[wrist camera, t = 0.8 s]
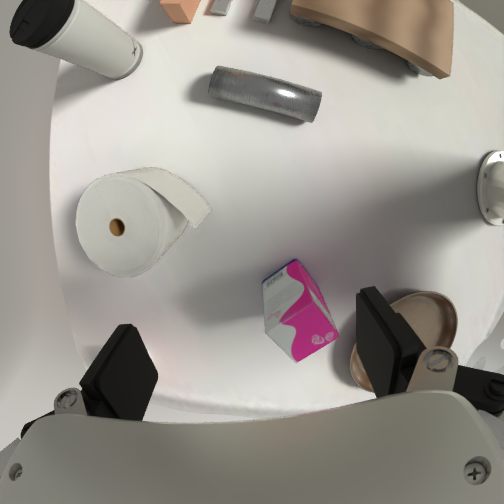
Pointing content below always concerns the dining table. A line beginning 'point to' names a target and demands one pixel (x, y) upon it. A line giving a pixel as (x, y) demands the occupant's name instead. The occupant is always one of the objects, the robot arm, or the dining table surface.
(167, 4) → the bar
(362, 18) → the slab
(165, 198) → the toilet tissue
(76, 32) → the travel mug
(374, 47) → the middle roller
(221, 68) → the roller
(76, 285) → the dining table surface
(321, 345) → the supplement box
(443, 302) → the plant saucer
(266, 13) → the cradle
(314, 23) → the cylinder
